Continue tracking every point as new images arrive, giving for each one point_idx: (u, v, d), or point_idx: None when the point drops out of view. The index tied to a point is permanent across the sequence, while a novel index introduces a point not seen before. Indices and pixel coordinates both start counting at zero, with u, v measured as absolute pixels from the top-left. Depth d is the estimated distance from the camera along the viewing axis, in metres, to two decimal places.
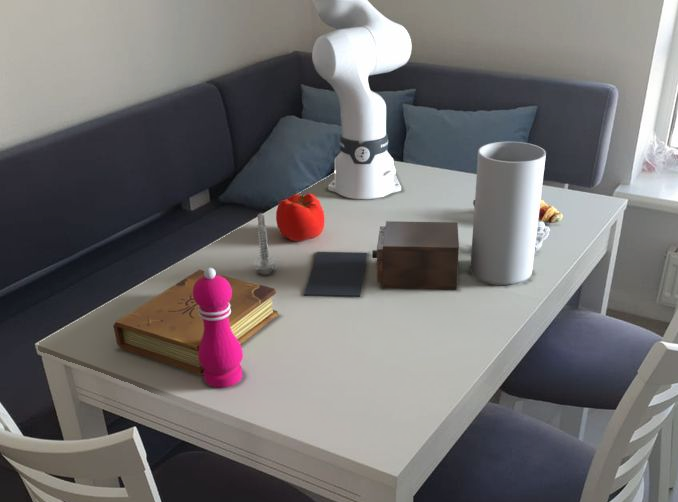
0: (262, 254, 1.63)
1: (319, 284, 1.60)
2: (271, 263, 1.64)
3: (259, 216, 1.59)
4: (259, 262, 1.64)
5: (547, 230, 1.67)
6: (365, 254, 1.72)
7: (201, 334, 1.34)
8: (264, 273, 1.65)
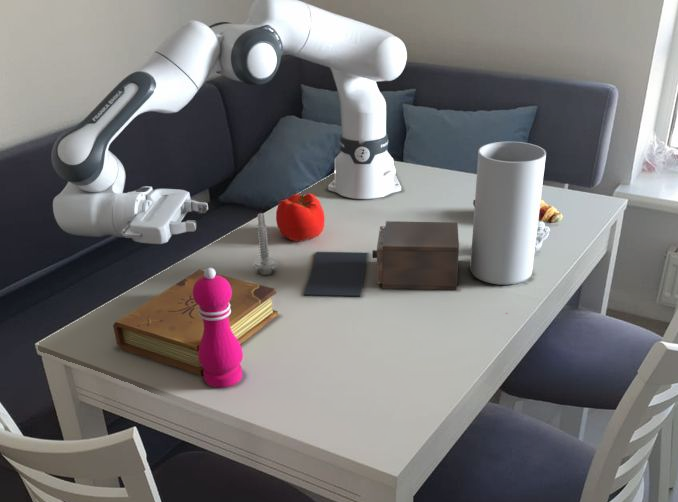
0: (262, 254, 1.63)
1: (319, 284, 1.60)
2: (271, 263, 1.64)
3: (259, 216, 1.59)
4: (259, 262, 1.64)
5: (547, 230, 1.67)
6: (365, 254, 1.72)
7: (201, 334, 1.34)
8: (264, 273, 1.65)
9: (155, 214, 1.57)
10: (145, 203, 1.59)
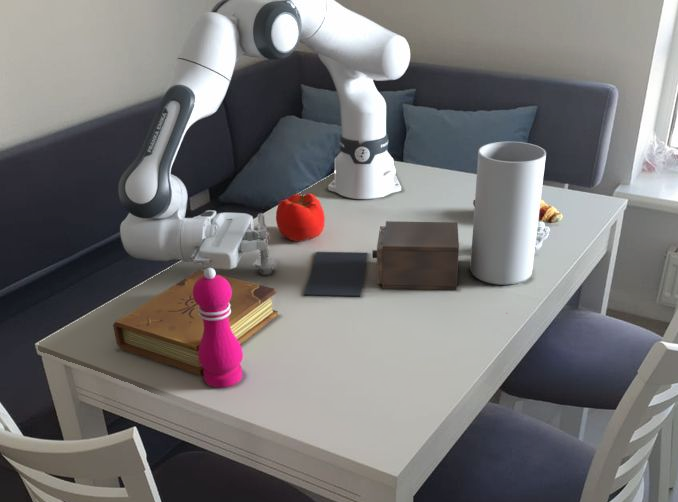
0: (262, 254, 1.63)
1: (319, 284, 1.60)
2: (271, 263, 1.64)
3: (259, 216, 1.59)
4: (259, 262, 1.64)
5: (547, 230, 1.67)
6: (365, 254, 1.72)
7: (201, 334, 1.34)
8: (264, 273, 1.65)
9: (222, 239, 1.59)
10: (212, 228, 1.60)
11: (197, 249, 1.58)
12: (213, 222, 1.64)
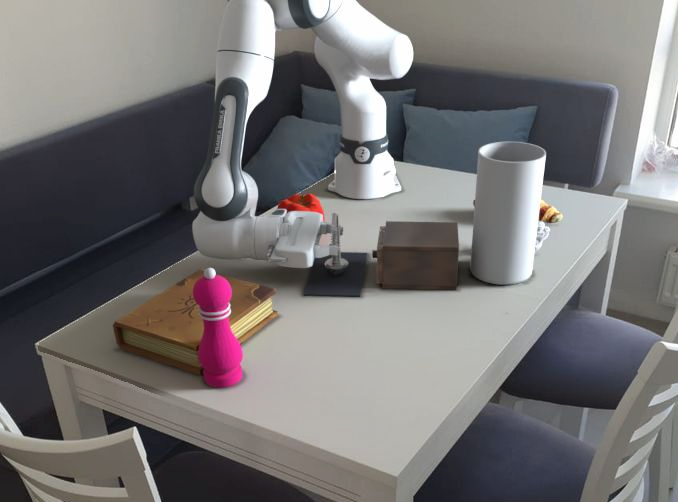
0: None
1: (319, 284, 1.60)
2: (343, 263, 1.62)
3: (333, 216, 1.57)
4: (331, 262, 1.63)
5: (547, 230, 1.67)
6: (365, 254, 1.72)
7: (200, 334, 1.34)
8: (336, 273, 1.63)
9: (297, 237, 1.57)
10: (286, 226, 1.59)
11: (272, 248, 1.57)
12: (285, 220, 1.63)
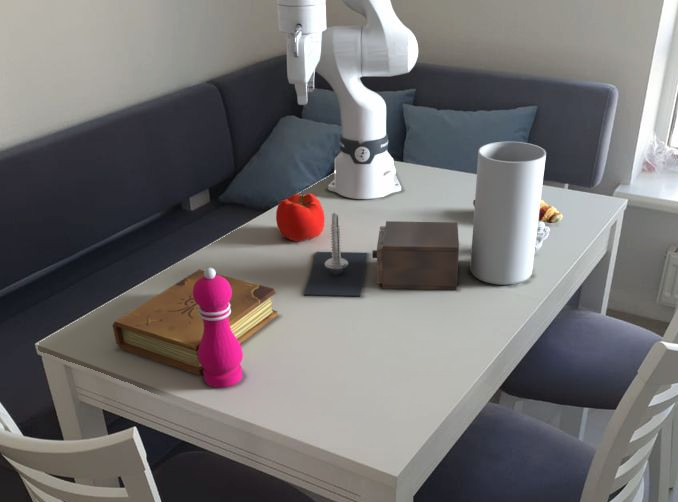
0: (334, 254, 1.61)
1: (319, 284, 1.60)
2: (343, 263, 1.62)
3: (333, 216, 1.57)
4: (331, 262, 1.63)
5: (547, 230, 1.67)
6: (365, 254, 1.72)
7: (200, 334, 1.34)
8: (336, 273, 1.63)
9: (310, 55, 1.47)
10: (318, 38, 1.47)
11: (300, 30, 1.42)
12: None
